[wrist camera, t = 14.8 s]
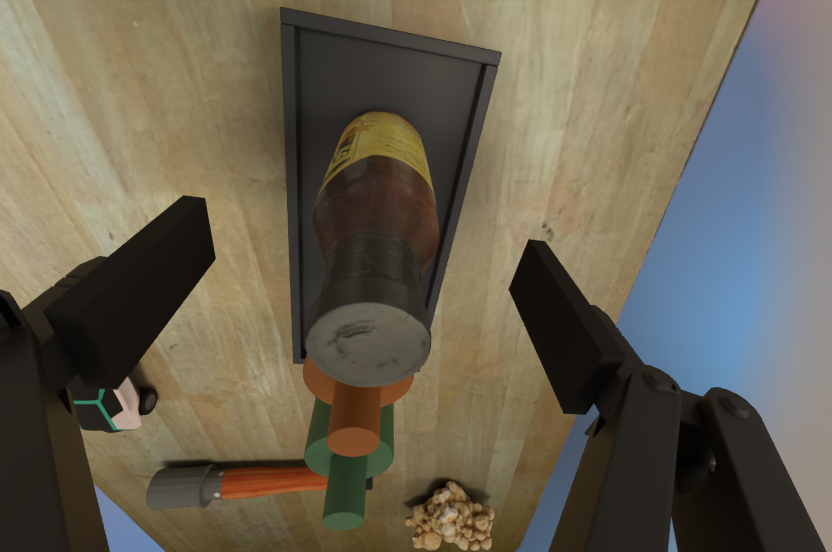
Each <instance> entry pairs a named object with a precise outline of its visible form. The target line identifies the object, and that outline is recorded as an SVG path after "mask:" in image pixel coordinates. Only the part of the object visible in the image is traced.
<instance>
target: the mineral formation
mask: <svg viewBox="0 0 832 552" xmlns="http://www.w3.org/2000/svg"><path fill="white" fill-rule="evenodd" d="M493 518H494V511H493V509H492V508H491V507H489V506H485V507H483V508H482V506H481V504H479V503H477V502H476V503H475V504H473V503H472V501H470V498H469V497H468V496H467V494H465V493H464V491H463V490H462V488H461V487H459V486H458V485H457V484H456V483H455V482H454V481H448V482H447V483H446V488H442V489H437V490H435V492H434V495H433V497H431V498H430V499H428V500H427V501H426V502H425V503H424V504H421V505H418V506H414V507H413V515H412V516H410V517H406V518H405V519H404V524H405V525H406V526H410V525H411V526H413V528H414V529H416V531H417V532H416V534H415V535H414V537H413V538H412V540H413V543H414V547H415V548H418V549H419V548H422V547H424V548H425V549H427V550H435V549H437V548H438V547H439V546H440V542H441V541H442V536H443V537H444V540H445V541H447V542H449V543H451V542H453V543H455V544H457V545H458V546H459V547H460V548H461V549H463V550H467V548H468V546H469V547H470V548H471V550H473V551H476V550H478V549H479V547H480V546H482V548H484V549H486V550H488V549H489V548H490V547H491V540H492V539H491V537H490V533H489V532H490V530H491V525H492V523H493V522H492V519H493Z"/></svg>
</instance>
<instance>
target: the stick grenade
mask: <svg viewBox="0 0 832 552" xmlns="http://www.w3.org/2000/svg"><path fill="white" fill-rule="evenodd" d="M327 484H328V478H327V477H324V476H321V475H319V474H317V473H315V472H314V471H312V470H311V469H310V468H309V467H308V466H305V467H289V468H278V467H251V468H236V469H225V470H217V468H216V466H215V465H214V464H210V465H208V466H195V467H180V468H165V469H161V470H159V471H158V472H157V473H156V474H155V475H154V476H153V478H152V479H151V481H150V484H149V486H148V490H147V495H146V502H147V506H148V507H149V508H150V509H151V510H158V509H172V508H185V507H198V506H200V507H202V508H205V507H207V506H208V505H209V503H210V502H211V500H222V499H238V498H251V497H259V496H265V495H271V494H277V493H283V492H295V491H308V490H322V489H327ZM372 486H373V477H371V478H367V479H366V490H372Z"/></svg>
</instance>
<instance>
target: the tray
mask: <svg viewBox="0 0 832 552" xmlns="http://www.w3.org/2000/svg"><path fill="white" fill-rule="evenodd" d="M280 18H281V49H282V75H283V102H284V129H285V156H286V183H287V210H288V237H289V264H290V291H291V318H292V344H293V363H294V364H304V363H305V359H306V355H307V351H306V348H305V336H306V330H307V326H308V321H309V314H310V311H311V308H312V306H313V302H314V301H315V300H316V299H317V297H318V296H319V295H320V293H321V288H322V286H323V283H324V279H325V267H326V266H325V263H324V261H323V258H322V255H321V252H320V250H319V247H318V244H317V241H316V238H315V236H314V233H313V228H312V213H313V208H314V205H315V202H316V199H317V197H318V194H319V190H320V188H321V186H322V184H323V181H324V178H325V175H326V173H327V170H328V168H329V165H330V163H331V161H332V158H333V155H334V153H335V151H336V148H337V146H338V143H339V140H340V138H341V136H342V134H343V132H344V130H345V129H346V127H347V126H348V125H349V124H350V123H351V122H352V121H353V120H354V119H355V118H356V117H358V116H361V115H363V114H365V113H366V112H369V111H372V110H376V109H384V110H388V111H392V112H394V113H397V114H398V115H400V116H402V117H404V118H405V119H406V120H408V121H409V122H410V123H411V124H412V125H413V126H414V129H415V130H416V131H417V133H418V134H419V136H420V138H421V141H422V144H423V147H424V151H425V155H426V159H427V164H428V168H429V173H430V177H431V182H432V186H433V191H434V196H435V200H436V209H437V211H436V215H437V220H438V224H439V235H438V236H439V244H438V247H437V251H436V253H435V255H434V257H433V259H432V261H431V263H430V265H429V266H428V267H427V269H426V270H425V271H424V272H423V273H422V275H421V283H420V289H421V298H422V302H423V303H424V305H425V308H426V310H427V313H428V317H429V324H430V328H431V324H432V320H433V316H434V313H435V309H436V305H437V301H438V297H439V293H440V289H441V286H442V282H443V278H444V274H445V270H446V266H447V262H448V259H449V255H450V251H451V247H452V243H453V239H454V235H455V232H456V228H457V224H458V220H459V216H460V212H461V208H462V205H463V201H464V197H465V193H466V189H467V185H468V181H469V177H470V174H471V170H472V166H473V162H474V158H475V154H476V150H477V147H478V143H479V139H480V135H481V131H482V127H483V123H484V120H485V116H486V112H487V108H488V104H489V100H490V96H491V93H492V89H493V85H494V81H495V77H496V73H497V69H498V67H497V66H498V65H499V62H500V58H501V54H502V53H501V52H499V51H494V50H489V49H484V48H479V47H475V46H470V45H465V44H460V43H455V42H450V41H445V40H440V39H436V38H431V37H426V36H421V35H416V34H411V33H406V32H402V31H397V30H392V29H387V28H382V27H377V26H372V25H367V24H363V23H358V22H353V21H348V20H343V19H338V18H333V17H328V16H324V15H319V14H314V13H309V12H304V11H299V10H294V9H289V8H284V7H280ZM419 371H420V369H419V370H418V371H417V372H419Z"/></svg>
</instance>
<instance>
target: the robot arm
mask: <svg viewBox="0 0 832 552" xmlns="http://www.w3.org/2000/svg"><path fill="white" fill-rule="evenodd" d="M215 259H216V257H215V251H214V246H213V240H212V235H211V229H210V223H209V218H208V212H207V207H206V201H205V198H200V197H192V196H185V195H183V196H182V197H181V198H179V199H178V200H177V201H176V202H175V203H173V204H172V205H171V206H170V207H168V208H167V209H166V210H165V211H164V212H162V213H161V214H160V215H159V216H157V217H156V218H155V219H154V220H153V221H151V222H150V223H149V224H148V225H146V226H145V227H144V228H143V229H142V230H140V231H139V232H138V233H137V234H135V235H134V236H133V237H132V238H131V239H129V240H128V241H127V242H126V243H125V244H123V245H122V246H121V247H120V248H118V249H117V250H116V251H115V252H114V253H112V254H111V255H110V256H109V257H103V256H99V257H96V258H94V259H92V260H89V261H87V262H85V263H82V264H80V265H79V266H77V267H76V268H75V269H74V270H72V271H71V272H70V273H68V274H67V275H66V278H64V277H63V278H62V279H61V280H59V281H58V282H57V283H55V286H54V287H53V286H52V287H50V288H49V289H48V290H46V291H45V292H44V293H42V294H41V295H40V296H39V297H37V298H36V299H35V300H33V301H32V302H31V303H29V304H28V305H27V306H26V307H24V308H23V309H22V310H21V309H20V308H19V306H18V304H17V303H16V301H15V300H14V298H13V297H12V295H11V294H10V293H9V292H7V291H4V290H0V552H110V550H109V546H108V542H107V538H106V534H105V530H104V525H103V522H102V517H101V513H100V509H99V505H98V501H97V497H96V493H95V489H94V484H93V480H92V476H91V472H90V468H89V463H88V459H87V455H86V451H85V447H84V443H83V439H82V435H81V430H80V426H79V422H78V418H77V414H76V410H75V406H74V402H73V397H72V394H71V392H70V390H69V389H68V387H67V385H68V384H69V383H70V382H71V381H72V380H73V379H74V378H75V376H76V375H77V374H78V375H79V377H80V379H81V380H82V382H83V384H84V386H85V387H86V388H91V389H110V390H118V388H119V387H120V386H121V384H122V383H123V382H124V380H125V379H126V378H127V376H128V375H129V374H130V372H131V371H132V370H133V368H134V367H135V366H136V364H137V363H138V362H139V360H140V359H141V358H142V356H143V355H144V354H145V352H146V351H147V350H148V348H149V347H150V346H151V344H152V343H153V342H154V340H155V339H156V338H157V336H158V335H159V334H160V332H161V331H162V330H163V328H164V327H165V326H166V324H167V323H168V322H169V320H170V319H171V318H172V316H173V315H174V314H175V312H176V311H177V310H178V308H179V307H180V306H181V304H182V303H183V302H184V300H185V299H186V298H187V296H188V295H189V294H190V292H191V291H192V290H193V288H194V287H195V286H196V284H197V283H198V282H199V280H200V279H201V278H202V276H203V275H204V274H205V272H206V271H207V270H208V268H209V267H210V266H211V265H212V263H213V262H214V261H215ZM509 291H510V294H511V296H512V298H513V300H514V303H515V305H516V307H517V309H518V312H519V314H520V316H521V318H522V321H523V323H524V325H525V327H526V330H527V332H528V334H529V336H530V339H531V341H532V343H533V345H534V348H535V350H536V352H537V354H538V357H539V359H540V361H541V363H542V366H543V368H544V370H545V372H546V375H547V377H548V379H549V381H550V384H551V386H552V388H553V390H554V393H555V395H556V397H557V399H558V402H559V404H560V406H561V408H562V411H563V413H564V414H582V415H585V414H586V413H587V412H588V411H589V409H590V408H591V406H592V405H593V404H595V405H596V407H597V409H598V411H599V413H600V414H599V415H598V417H597V418H596V419H595V420H594V422H593V423H592V424H591V425H590V427H589V428H588V429H587V431H586V432H585V434H586V435H589V434H590V435H589V438H588V440H587V443H586V446H585V449H584V452H583V455H582V457H581V461H580V463H579V466H578V469H577V472H576V475H575V478H574V480H573V483H572V486H571V489H570V492H569V495H568V497H567V500H566V503H565V506H564V509H563V512H562V515H561V517H560V520H559V523H558V526H557V529H556V532H555V534H554V537H553V540H552V543H551V546H550V549H549V552H668V544H669V533H670V522H671V517H672V522H673V528H674V533H675V538H676V544H677V549H678V552H826V550H825V548H824V546H823V543H822V542H821V540H820V537H819V535H818V533H817V531H816V529H815V527H814V525H813V523H812V521H811V519H810V517H809V515H808V513H807V511H806V509H805V507H804V505H803V503H802V500H801V498H800V496H799V494H798V492H797V490H796V488H795V486H794V484H793V482H792V480H791V478H790V476H789V474H788V472H787V470H786V468H785V466H784V464H783V461H782V460H781V458H780V455H779V453H778V451H777V450H776V447H775V445H774V443H773V441H772V439H771V437H770V435H769V433H768V431H767V429H766V427H765V425H764V423H763V421H762V418H761V417H760V415H759V414H758V412H757V411H756V409H755V408H754V407H752V406H751V405H750V404H749V403H748V401H746V400H745V399H744V398H742V397H741V396H739V395H737V394H736V393H733V392H731V391H729V390H727V389H723V388H719V387H716V388H711V389H710V390H709V391H708V392H707V393H706V394H705V395H704V396H703V397H702V396H699V395H696V394H693V393H690V392H687V391H684V390H681V388H680V387H679V386H678V384H677V383H676V381H674V380H673V379H672V378H671V377H670V376H669V375H668V374H666V373H665V372H663V371H661V370H660V369H658V368H655V367H653V366H650V365H645V364H644V363H643V362H642V360H641V359H640V358H639V356H638V355H637V354H636V353H635V351H634V350H633V348H632V347H631V346H630V344H629V343H628V342H627V340H626V339H625V338H624V336H622V334H621V332H620V331H619V329H618V328H616V327H615V326H616V325H615V324H614V323H613V321H612V320H611V319H610V317H609V316H608V315H607V314H606V313H605V312H603V311H602V310H601V309H600V308H598V307H597V306H596V305H590V304H589V302H588V301H587V300H586V298H585V297H584V295H583V294H582V292H581V291H580V290H579V288H578V287H577V285H576V284H575V283H574V281H573V280H572V278H571V277H570V276H569V274H568V273H567V271H566V270H565V269H564V267H563V266H562V264H561V263H560V262H559V260H558V259H557V257H556V256H555V255H554V253H553V252H552V250H551V249H550V248H549V246H548V245H547V243H546V242H545V241H538V240H531V239H529V240H528V242H527V245H526V247H525V250H524V252H523V255H522V257H521V260H520V262H519V265H518V267H517V270H516V272H515V275H514V277H513V280H512V282H511V285H510V287H509ZM714 463H715V465H714Z"/></svg>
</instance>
